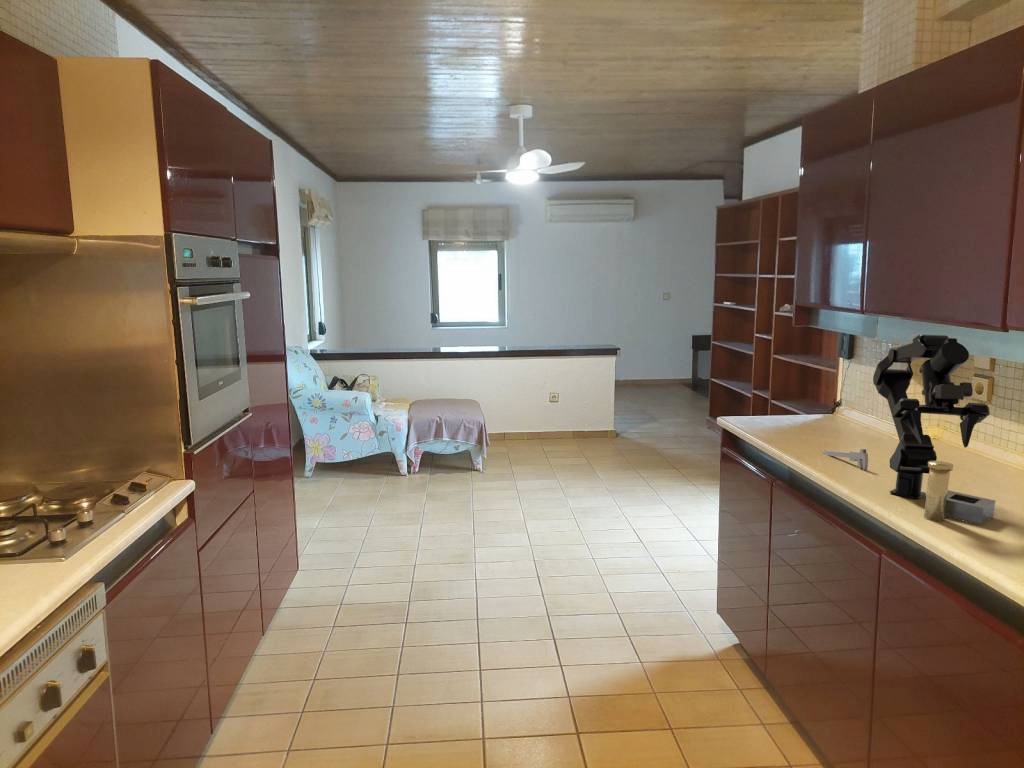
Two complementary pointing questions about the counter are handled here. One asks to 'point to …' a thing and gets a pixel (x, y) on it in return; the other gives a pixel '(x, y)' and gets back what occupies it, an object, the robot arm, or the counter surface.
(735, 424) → the counter surface
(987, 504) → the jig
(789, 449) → the counter surface
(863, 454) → the caliper
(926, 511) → the flanged metal cylinder
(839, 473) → the counter surface
